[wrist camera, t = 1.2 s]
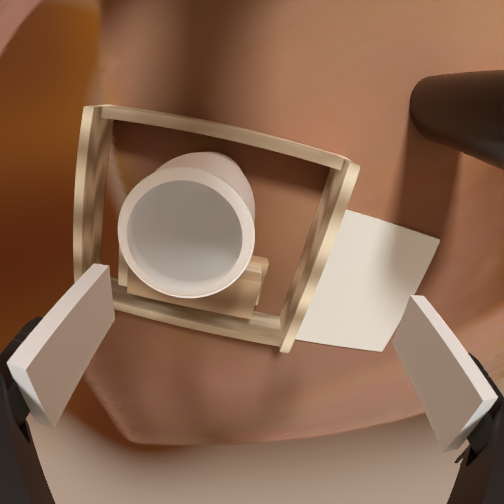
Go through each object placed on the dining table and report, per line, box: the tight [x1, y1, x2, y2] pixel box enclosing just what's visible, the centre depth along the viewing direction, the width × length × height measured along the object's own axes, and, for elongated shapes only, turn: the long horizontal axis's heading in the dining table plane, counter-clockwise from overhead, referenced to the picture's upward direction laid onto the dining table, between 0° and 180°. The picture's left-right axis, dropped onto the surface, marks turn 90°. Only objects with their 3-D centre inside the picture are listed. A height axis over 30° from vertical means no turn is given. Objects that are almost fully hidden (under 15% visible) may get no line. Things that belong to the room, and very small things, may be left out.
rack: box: [73, 105, 360, 353], centre depth 36 cm, size 24×28×6 cm
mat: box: [295, 209, 440, 352], centre depth 42 cm, size 20×16×1 cm
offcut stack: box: [118, 245, 269, 319], centre depth 39 cm, size 6×18×6 cm, turn 77°
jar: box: [118, 152, 255, 298], centre depth 30 cm, size 11×10×15 cm
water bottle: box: [410, 70, 504, 170], centre depth 21 cm, size 10×10×23 cm
